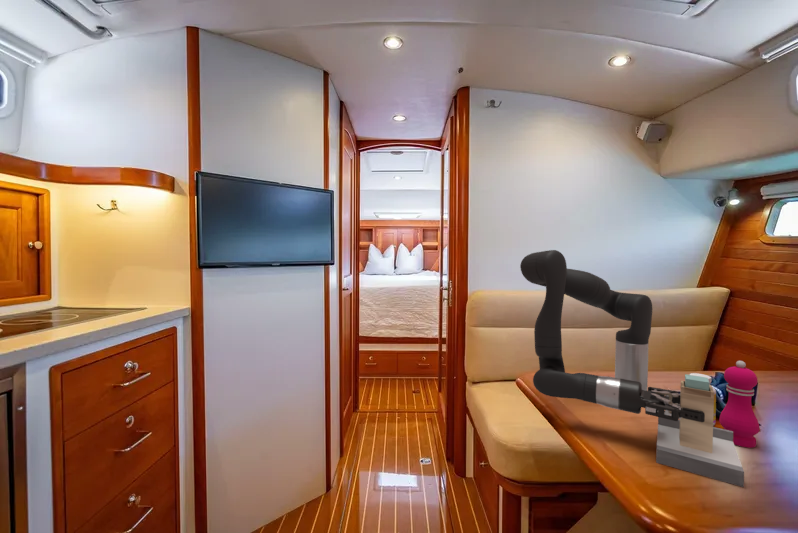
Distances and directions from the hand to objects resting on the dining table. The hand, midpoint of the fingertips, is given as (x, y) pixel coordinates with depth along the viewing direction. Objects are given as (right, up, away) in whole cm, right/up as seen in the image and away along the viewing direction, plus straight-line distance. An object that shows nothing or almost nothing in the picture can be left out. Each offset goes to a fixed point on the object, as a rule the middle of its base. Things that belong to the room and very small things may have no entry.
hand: (702, 410), depth 81 cm
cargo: (-1, +4, +1) cm, 4 cm away
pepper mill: (+16, -11, +8) cm, 21 cm away
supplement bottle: (+15, -11, +19) cm, 26 cm away
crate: (-1, -8, +1) cm, 8 cm away
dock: (-1, -11, +1) cm, 11 cm away
